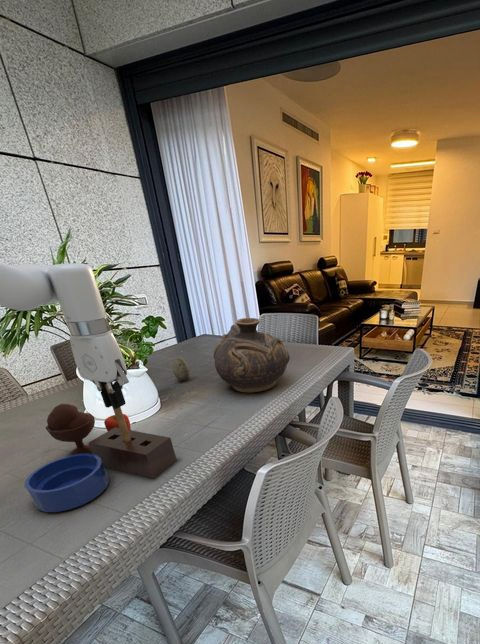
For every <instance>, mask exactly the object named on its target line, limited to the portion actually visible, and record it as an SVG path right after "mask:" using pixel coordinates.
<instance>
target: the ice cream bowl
mask: <svg viewBox="0 0 480 644" xmlns="http://www.w3.org/2000/svg"><path fill="white" fill-rule="evenodd" d="M95 423H96V420H95V416H94V415H93V414H91V412H83V411H79V410H78V407H77V406H75V405H73V404H70V403H60V404H58V405H56V406H54V408H53V409H52V410H51V412H49V414H48V415H47V417H46V424H47V425H46V426H45V430H46V431H47V433H48V434H49V435H50V436H51V437H52V438H53V439H55V440H56V441H59V442H63V443H64V442H65V443H75V446H76V448H75V449H74V450H72V452H71V454H70V455H75V454H93V453H92V450H91V448H90V445H85V444H84V442H83V441H84V440H83V439H86V438H87V437H88V436H89V435H90V433H91V432H92V430H94V428H95V425H96V424H95Z"/></svg>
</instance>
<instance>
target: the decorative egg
mask: <svg viewBox="0 0 480 644" xmlns="http://www.w3.org/2000/svg"><path fill="white" fill-rule="evenodd" d="M172 366H173V367H172V371H173V375H174V377H175V378H176V379H177V380H178V381H180V382H185V381H187V380H188V379H189V377H190V373H191V372H190V369H189V365H188V364H187V361H186V360H185V359H184V358H183V357H181V356H175V358H174V361H173V365H172Z"/></svg>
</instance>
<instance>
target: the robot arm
mask: <svg viewBox="0 0 480 644" xmlns="http://www.w3.org/2000/svg"><path fill="white" fill-rule="evenodd" d="M94 273H95V272H94V270H93V269H92V267H91V266H90V265H88V264H87V263H83V262H82V263H81V262H72V263H71V262H70V263H69V262H67V263H57V264H56V263H55V264H39V263H22V264H21V263H20V264H14V265H13V264H12V265H11V264H8V263H5V262H3V261H2V260H1V261H0V306H1V307H3V308H7V309H10V310H15V311H22V312H23V311H33V310H35V309H38V308H39V307H42V306H43V305H47V304H50V303H52V302H58V305H59V306H60V309H61V312H62V315H63V318H64V321H65V324H66V326H67V329H68V331H69V334H70V335H69V341H70V347H71V351H72V355H73V358H74V362H75V365H76V368H77V372H78V374H79V376H80V377H81V378H82V379H84V380H88V381H90V382H92V383H93V384H94V386H95V387H96V390H97V391H98V392H99V393H100V396H101V398H102V401H103V404H104V407H105V408H106V409H107V408H111V407H112V409H113V408H114V409H117V408H119V407H123V406H125V405H126V400H125V395H124V394H123V389H124V386H125V385H126V384H129V383H130V380H129V378H128V368H127V366H126V362H125V359H124V356H123V353H122V351H121V349H120V348H121V347H120V345H119V344H118V341H117V339H116V337H115V335H114V333H113V332H112V329H111V325H110V322H109V318H108V315H107V313H106V312H107V311H106V308H105V306H104V303H103V299H102V296H101V292H100V290H99V286H98V283H97V279H96V276H95V274H94ZM105 384H107V386H108V389H109V392H110V393H107V390H106V387H105ZM108 395H109V396H108ZM109 398H110V399H109Z"/></svg>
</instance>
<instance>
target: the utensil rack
mask: <svg viewBox="0 0 480 644" xmlns="http://www.w3.org/2000/svg"><path fill="white" fill-rule="evenodd" d="M128 431H129V434H130V437H131V440H132V442H130V443H127V442H124V439H123V436H122V433H121V430H120V428H116V427H115V428H113V429H111V430H110V431H106V432H104V433H103V434H101V435H99V436H96V438H94V439H92V440H90V441H88V446H90V448H91V450H92V453H91V454H94V455H97V456H98V457H100V458H101V460H102V463H103V465H104V468H106V469H107V468H108V469H112V470H116V471H120V472H124V473H129V474H133V475H136V476H140V477H145V478H149V479H155V478H157V477H158V476H159V475H161V474H162V473H163V472H164V471H166V470H167V469H169V467H171V466H172V465H173V464H174V463H175V462H177V456H176V453H175V449H174V445H173V441H172V439H171V436H170V437H169V436H164V435H158V434H153V433H148V432H143V431H136V430H128Z"/></svg>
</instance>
